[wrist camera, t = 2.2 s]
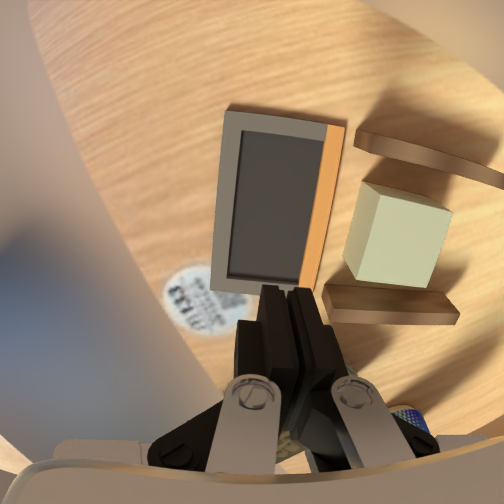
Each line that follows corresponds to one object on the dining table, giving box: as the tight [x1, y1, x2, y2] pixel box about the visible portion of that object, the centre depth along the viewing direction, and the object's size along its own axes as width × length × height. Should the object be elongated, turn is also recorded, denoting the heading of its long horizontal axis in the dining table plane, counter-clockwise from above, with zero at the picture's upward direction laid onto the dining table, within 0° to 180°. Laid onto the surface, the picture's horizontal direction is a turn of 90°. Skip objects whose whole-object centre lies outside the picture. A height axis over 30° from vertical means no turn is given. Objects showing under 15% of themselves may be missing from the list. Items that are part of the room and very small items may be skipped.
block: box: [342, 181, 453, 288], centre depth 22 cm, size 6×6×4 cm
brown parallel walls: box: [321, 130, 504, 325], centre depth 22 cm, size 12×13×4 cm
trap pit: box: [210, 111, 345, 297], centre depth 23 cm, size 8×13×1 cm, turn 173°
